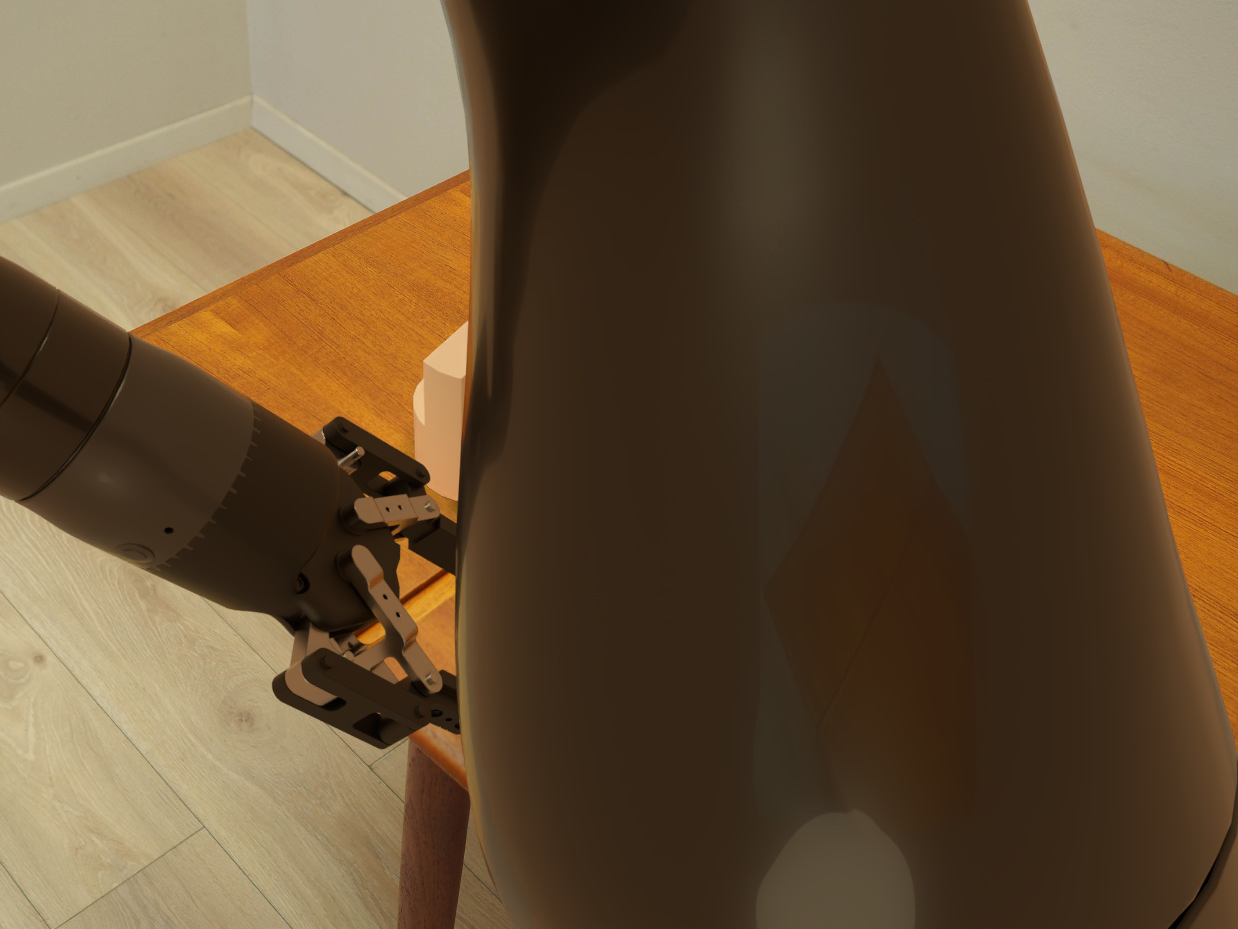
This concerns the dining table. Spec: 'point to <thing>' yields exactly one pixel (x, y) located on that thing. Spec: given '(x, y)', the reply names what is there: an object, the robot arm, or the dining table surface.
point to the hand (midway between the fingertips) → (481, 635)
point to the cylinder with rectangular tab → (442, 413)
